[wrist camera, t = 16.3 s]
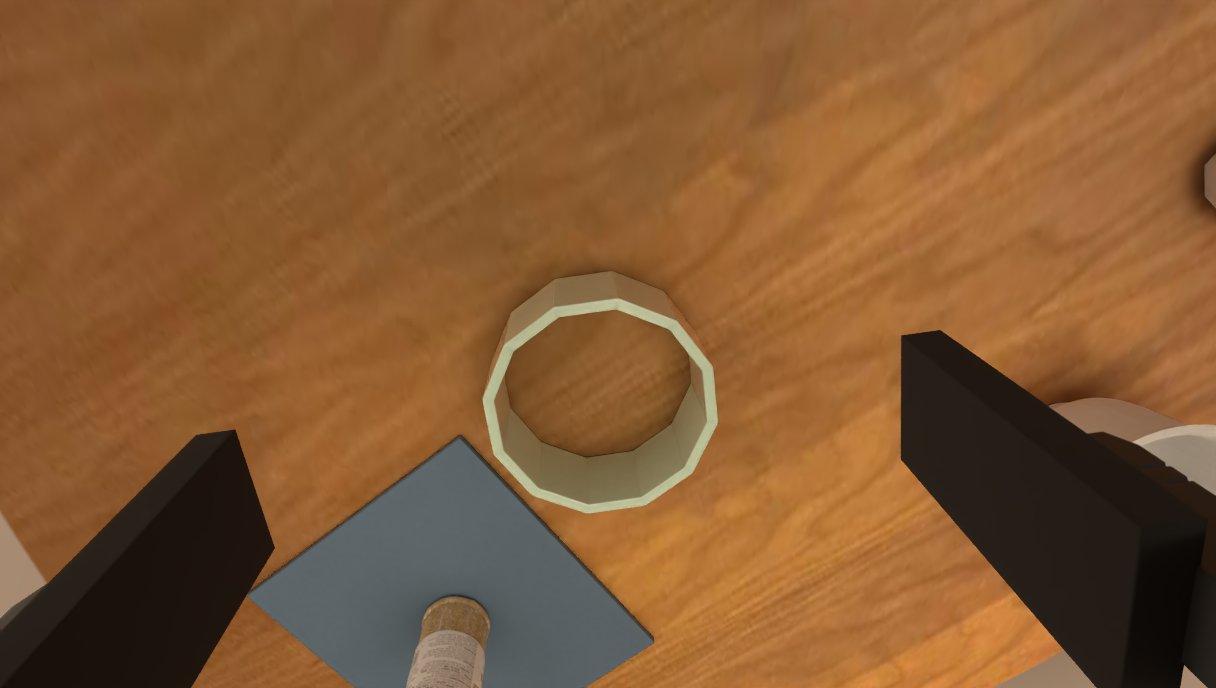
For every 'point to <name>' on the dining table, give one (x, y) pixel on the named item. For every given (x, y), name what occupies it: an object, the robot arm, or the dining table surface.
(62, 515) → the dining table surface
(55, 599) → the robot arm
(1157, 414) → the teacup
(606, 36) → the dining table surface
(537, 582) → the rubber mat
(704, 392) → the pale green ring
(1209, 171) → the salt shaker
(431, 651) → the sprinkles bottle
